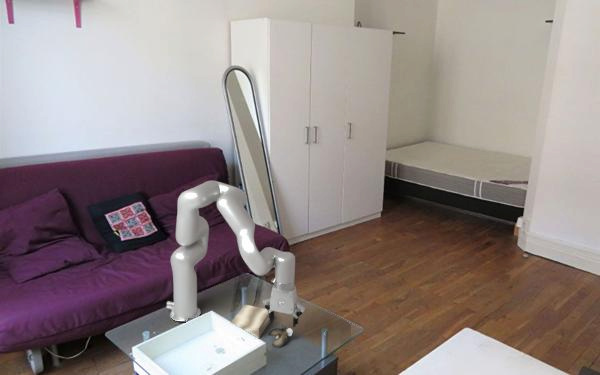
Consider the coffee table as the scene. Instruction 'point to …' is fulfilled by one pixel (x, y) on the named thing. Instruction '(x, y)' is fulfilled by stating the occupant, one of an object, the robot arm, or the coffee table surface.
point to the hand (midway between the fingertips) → (283, 322)
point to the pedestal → (252, 319)
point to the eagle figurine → (280, 335)
